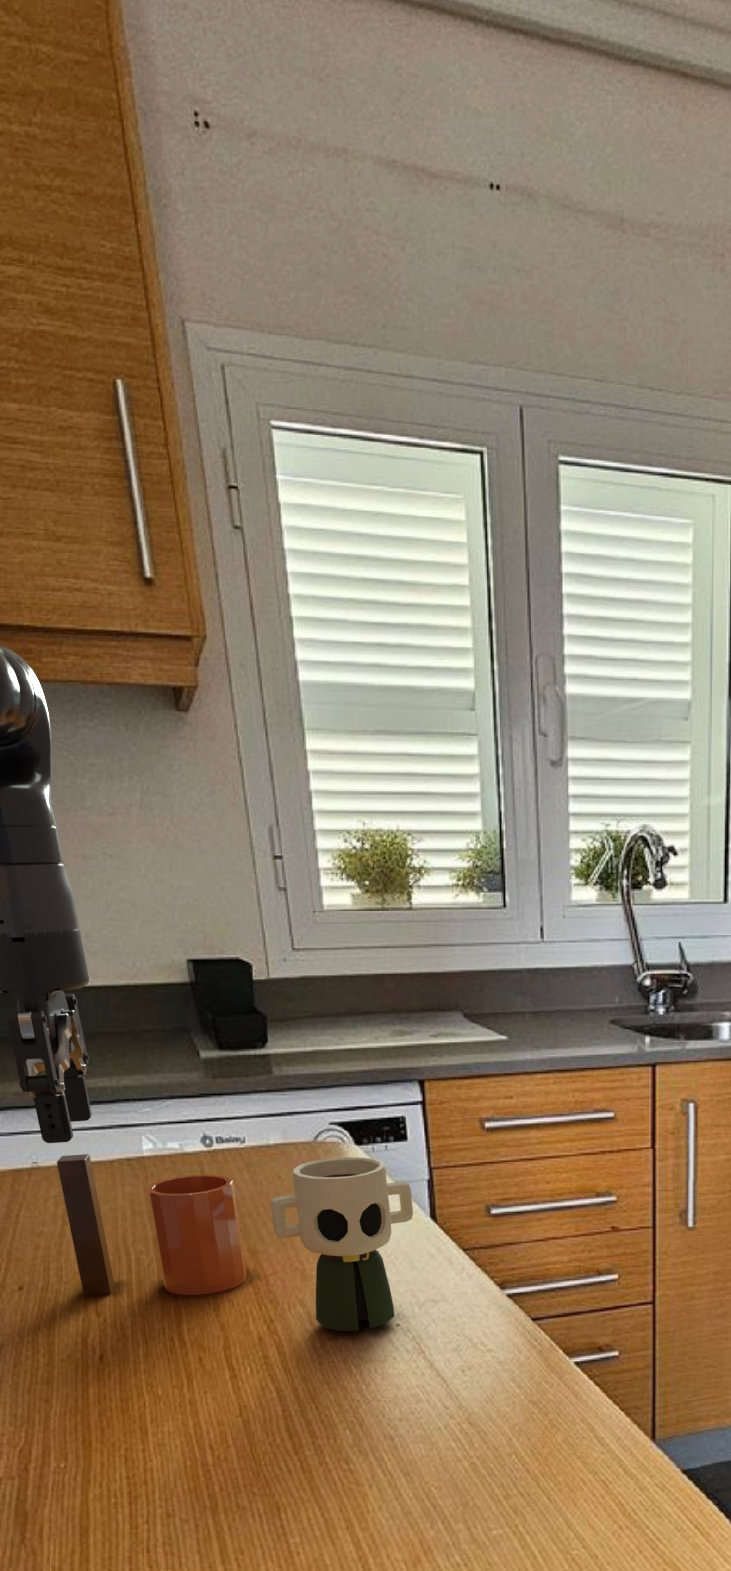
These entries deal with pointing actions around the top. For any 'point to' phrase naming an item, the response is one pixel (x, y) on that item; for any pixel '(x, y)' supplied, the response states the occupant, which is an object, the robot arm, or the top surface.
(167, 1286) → the tumbler
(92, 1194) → the stick
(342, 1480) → the top surface
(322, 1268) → the character mug
